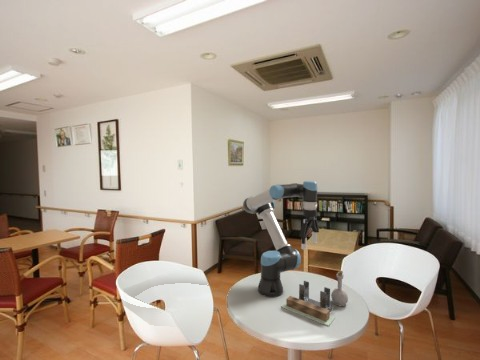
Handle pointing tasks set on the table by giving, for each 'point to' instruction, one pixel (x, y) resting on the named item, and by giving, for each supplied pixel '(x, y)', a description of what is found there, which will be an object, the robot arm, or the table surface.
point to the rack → (323, 300)
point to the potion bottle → (339, 292)
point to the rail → (308, 308)
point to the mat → (309, 315)
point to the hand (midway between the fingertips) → (309, 246)
